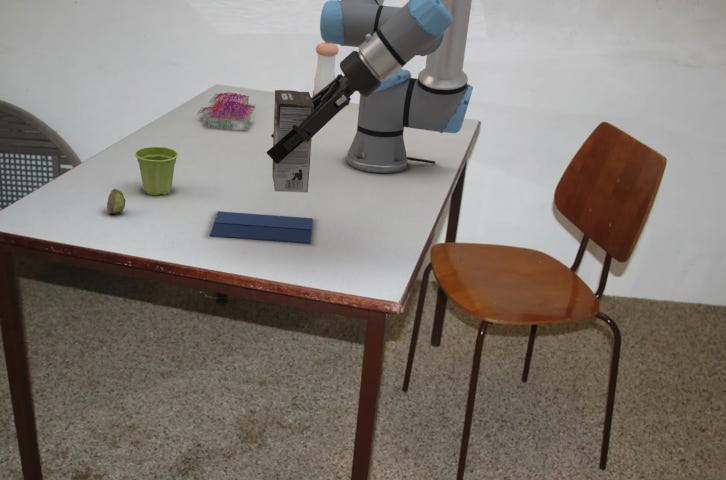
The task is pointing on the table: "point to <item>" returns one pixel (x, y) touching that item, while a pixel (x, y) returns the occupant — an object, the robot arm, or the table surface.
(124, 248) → the table surface
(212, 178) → the table surface
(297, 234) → the napkin
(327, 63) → the pepper shaker
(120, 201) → the lime
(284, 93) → the coffee box
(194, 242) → the table surface
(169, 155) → the plant pot
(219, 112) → the pink and grey package
